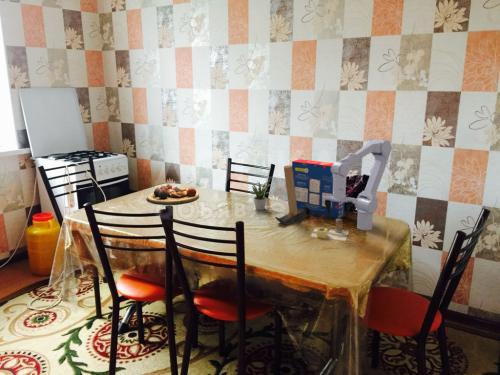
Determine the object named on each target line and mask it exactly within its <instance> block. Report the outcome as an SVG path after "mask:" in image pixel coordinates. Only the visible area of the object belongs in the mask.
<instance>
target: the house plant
mask: <svg viewBox="0 0 500 375" xmlns="http://www.w3.org/2000/svg"><path fill="white" fill-rule="evenodd" d="M268 182H269V180H268V181H265V182H264V184H263V185H261V183H260V181H256V183H257V185H258V187H257V186H256V185H255V184H253V183H251V182H250V184H251V188H252V193H253V194H251V196H254V197H253V202H254V205H255V209H256V210H257V211H264V210H265V208H266V202H267V197H265V196H270V195H271V192H269V191H267V190H268V187H269V186H272V185H273V183H271V184H268ZM266 191H267V192H266Z"/></svg>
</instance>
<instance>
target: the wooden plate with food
mask: <svg viewBox="0 0 500 375" xmlns="http://www.w3.org/2000/svg"><path fill="white" fill-rule="evenodd" d="M199 197H200V193H199V192H198V191H197V190H196V188H193V187H190V188H187V187H186V188H179V187H178V186H175V187H174V188H173V186H172V185H171V184H170V183H169V184H166V186H165V185H161V186H160V187H156V188H155V189H154V191H153V192H151V193H149V194H148V195H147V199H148V200H149V201H148V200H147V199H146V200H147V201H148V202H150V201H151V202H150V203H152V202H155V203H154V204H157V203H159V205H174V204H176V205H177V203H178V204H185V203H190V202H193V201H195V200H197V199H198V198H199Z"/></svg>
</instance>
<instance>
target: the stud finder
mask: <svg viewBox="0 0 500 375" xmlns="http://www.w3.org/2000/svg"><path fill="white" fill-rule="evenodd" d="M318 228H319V229H318V230H317V237H318V238H317V239H322V238H326V237H327V234H328V229H329V228H324V227H318Z"/></svg>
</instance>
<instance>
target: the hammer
mask: <svg viewBox="0 0 500 375" xmlns="http://www.w3.org/2000/svg"><path fill="white" fill-rule="evenodd" d="M283 172H284V179H285V180H284V181H285V187H286V188H285V189H286V195H287V203H288V205H287V206H288V211H289V212H288V213H287V214H285V215H283V216H281V217H276V216H275V217H274V218H275V219H276V221H278V222H279V223H281V224H284V225H286V226H287V225H291V224H294V223H297V222H300V221H302V220H304V219H306V218H307V216H308V215H311V214H310V210H309V208H308V207H304V208H303V209H300V208H298V209H297V203H296V195H295V187H294V178H293V170H292V164H291V165H290V164H289V165H288V164H287V165H284V166H283Z"/></svg>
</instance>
